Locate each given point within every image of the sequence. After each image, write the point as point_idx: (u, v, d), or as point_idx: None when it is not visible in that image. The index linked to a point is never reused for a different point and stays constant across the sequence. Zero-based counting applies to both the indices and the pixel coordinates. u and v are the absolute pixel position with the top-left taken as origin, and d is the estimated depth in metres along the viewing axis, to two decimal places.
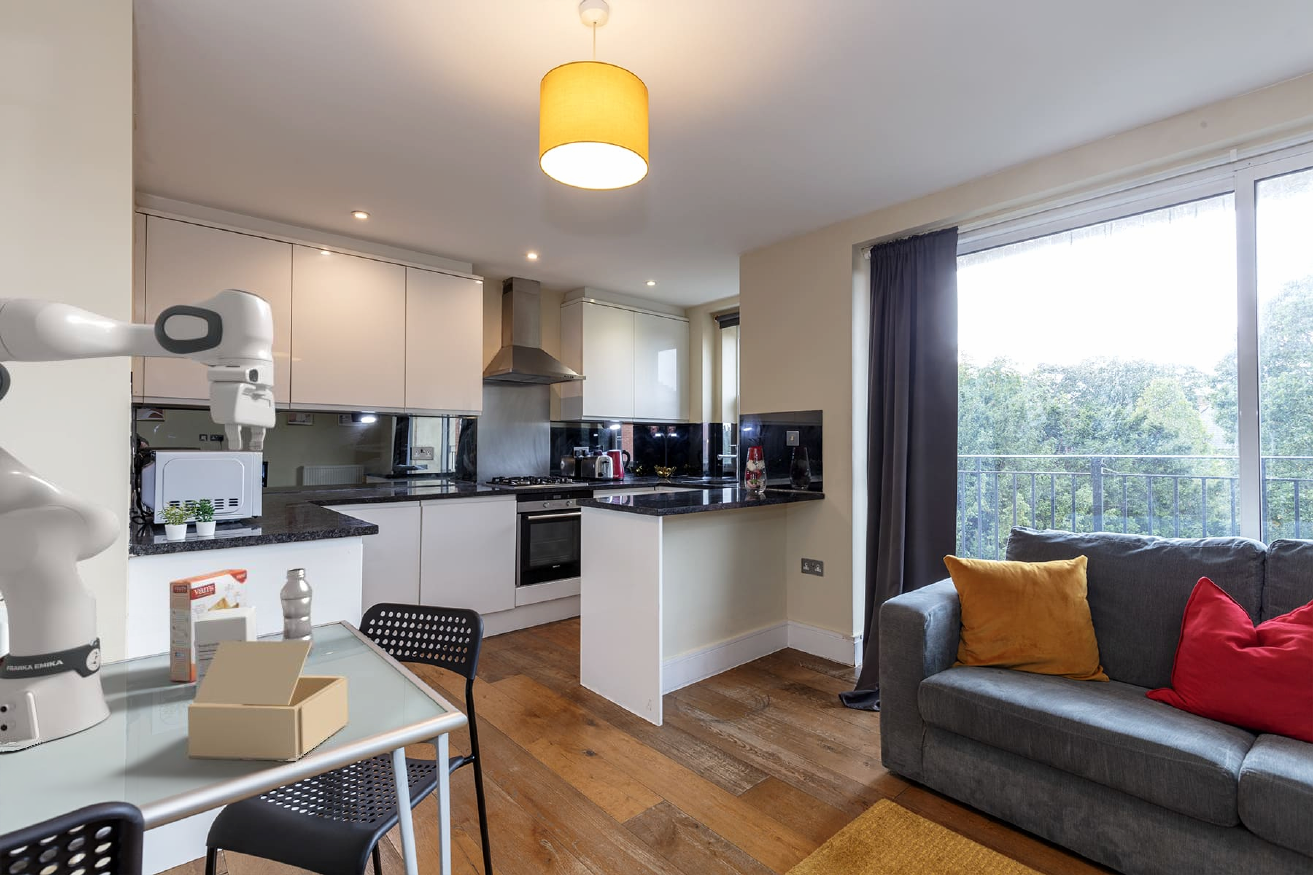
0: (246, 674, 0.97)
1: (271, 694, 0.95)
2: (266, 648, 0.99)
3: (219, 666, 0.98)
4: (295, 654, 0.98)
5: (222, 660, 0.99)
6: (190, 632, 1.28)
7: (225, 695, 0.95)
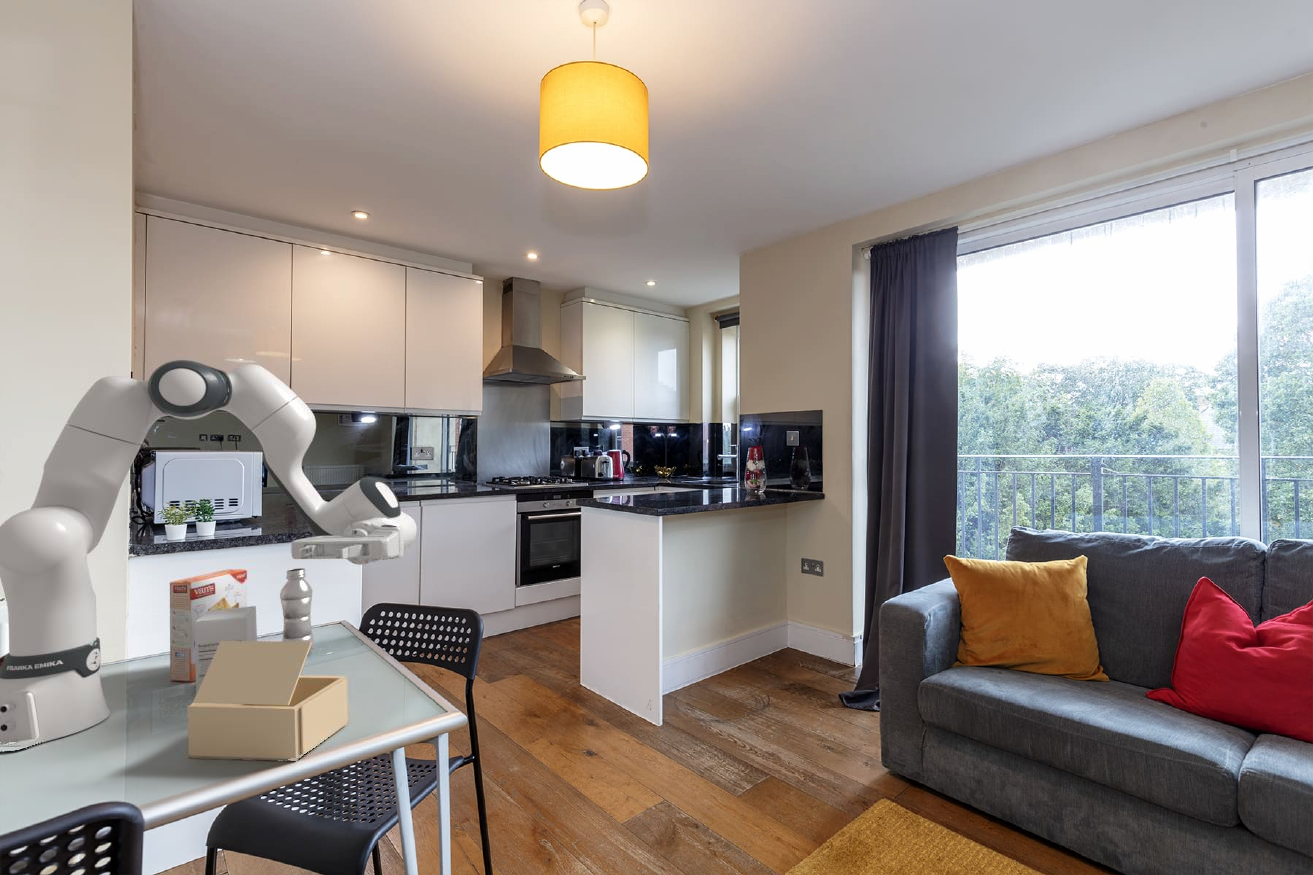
0: (246, 674, 0.97)
1: (271, 694, 0.95)
2: (266, 648, 0.99)
3: (219, 666, 0.98)
4: (295, 654, 0.98)
5: (222, 660, 0.99)
6: (190, 632, 1.28)
7: (225, 695, 0.95)
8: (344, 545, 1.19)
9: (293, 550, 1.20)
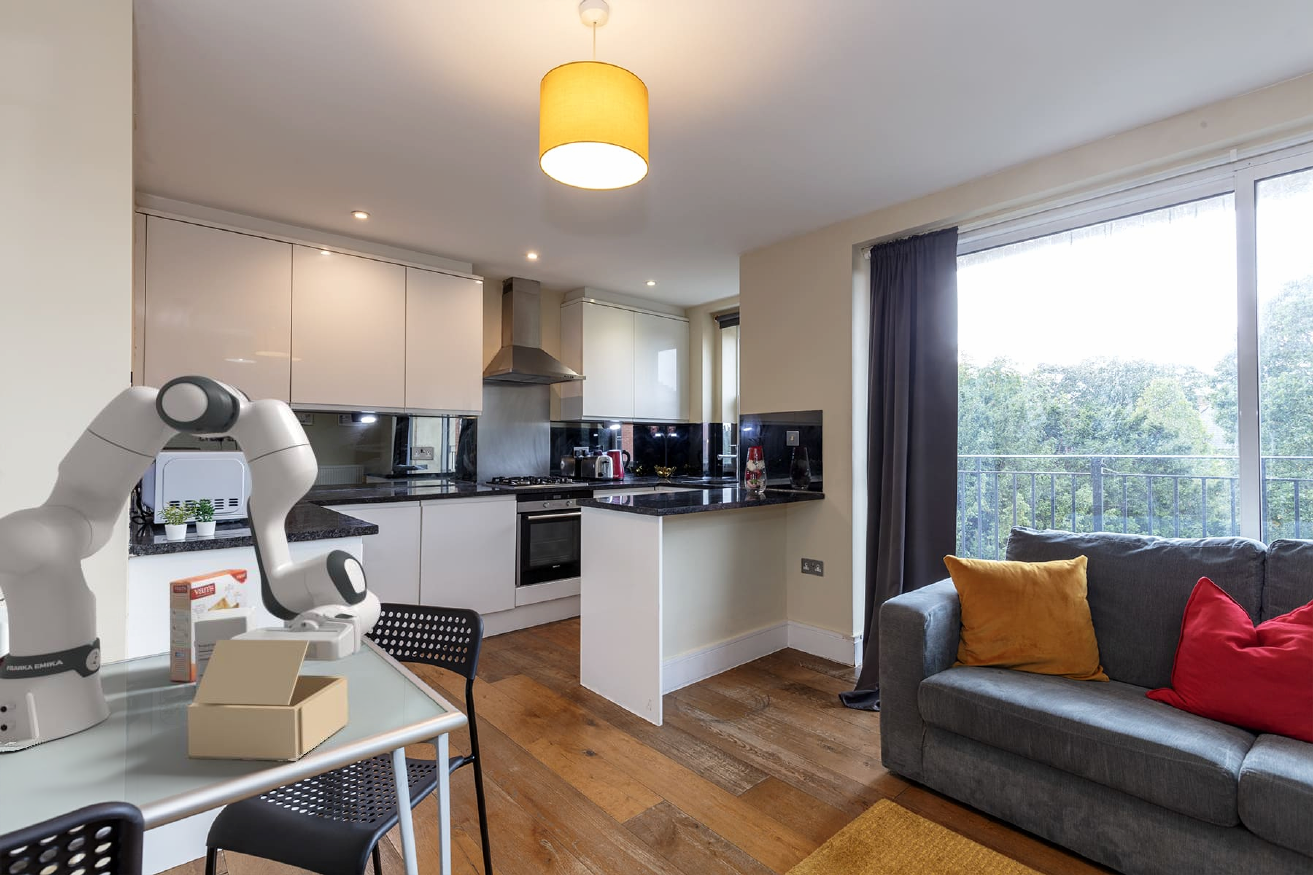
0: (244, 674, 0.97)
1: (270, 694, 0.94)
2: (263, 647, 0.99)
3: (217, 665, 0.98)
4: (293, 653, 0.97)
5: (220, 659, 0.98)
6: (190, 632, 1.28)
7: (224, 695, 0.95)
8: None
9: None
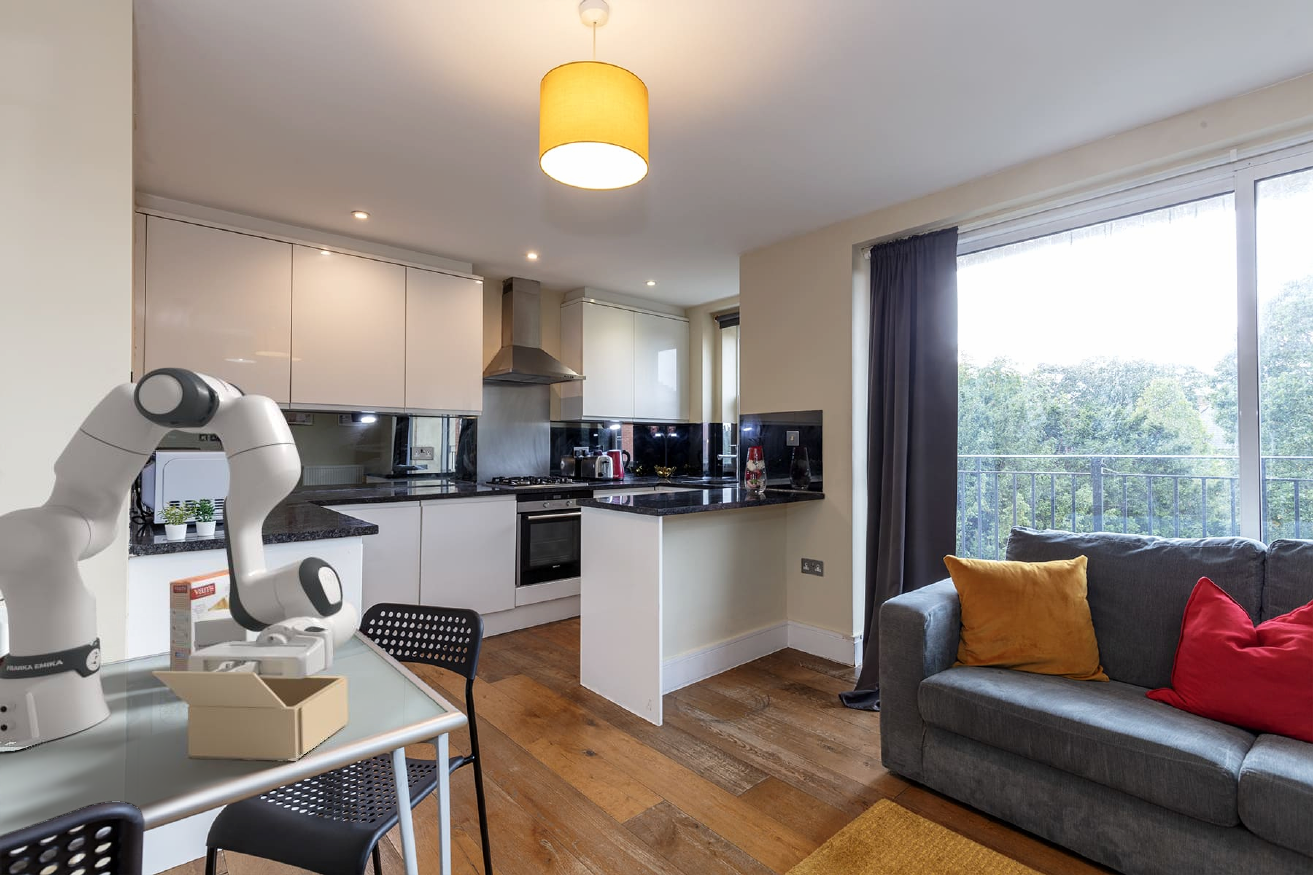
0: (216, 692, 0.91)
1: (260, 702, 0.92)
2: (210, 677, 0.88)
3: (179, 687, 0.91)
4: (248, 681, 0.88)
5: (176, 684, 0.90)
6: (190, 632, 1.28)
7: (215, 702, 0.93)
8: None
9: (190, 666, 0.96)
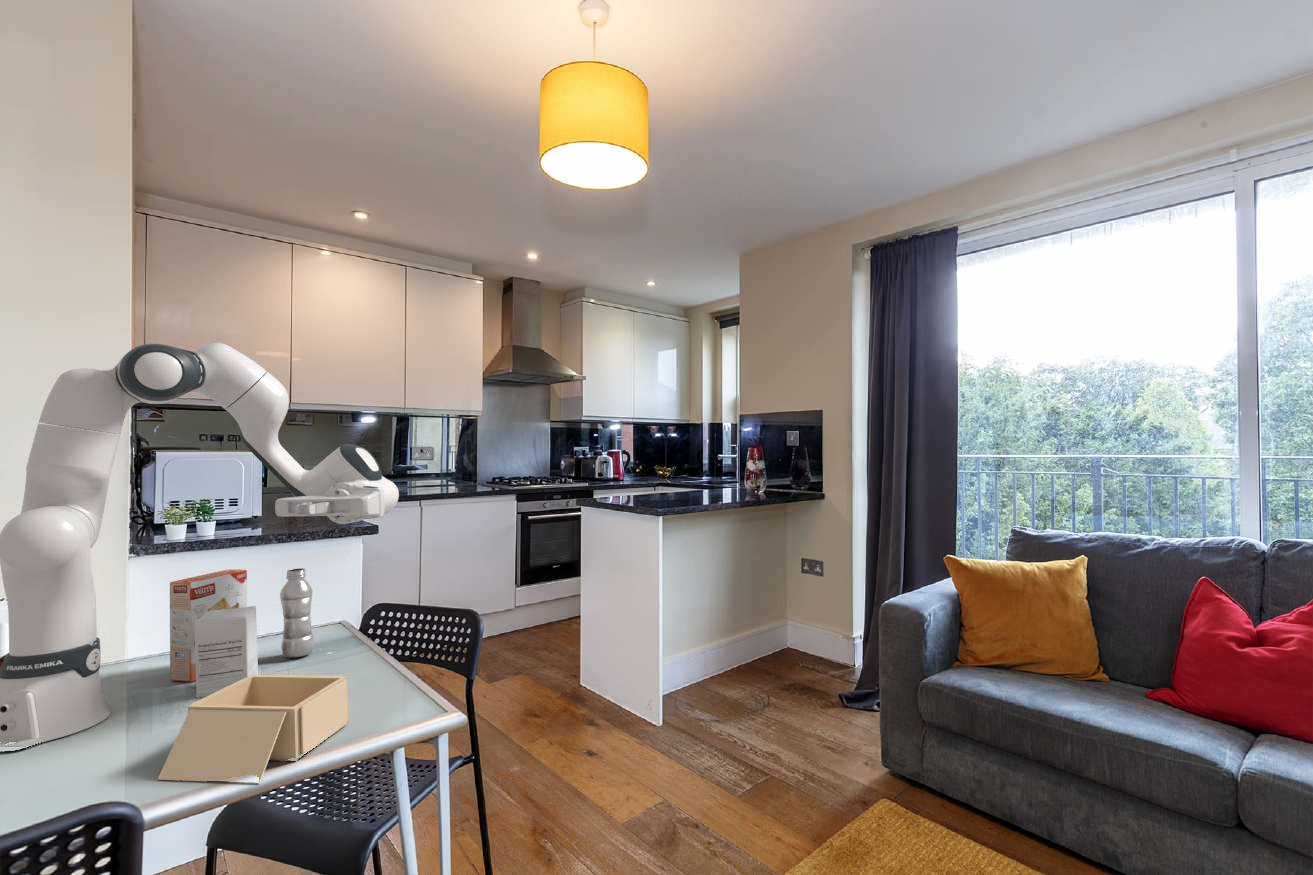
0: None
1: None
2: None
3: None
4: None
5: None
6: (190, 632, 1.28)
7: None
8: None
9: (277, 508, 1.24)
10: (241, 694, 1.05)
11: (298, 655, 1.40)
